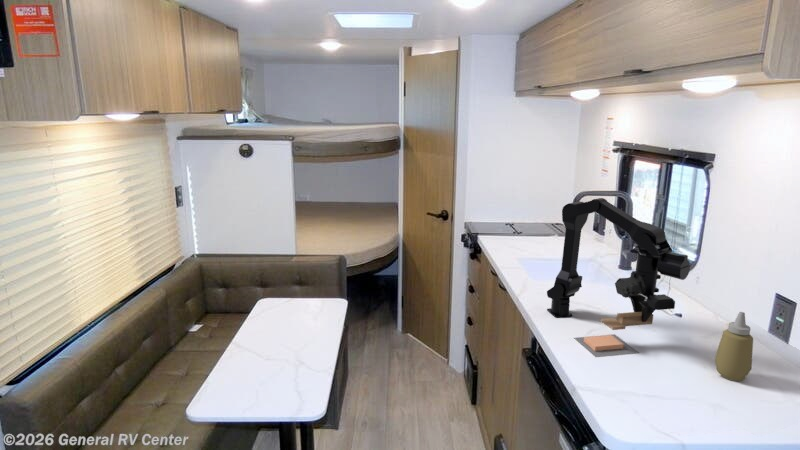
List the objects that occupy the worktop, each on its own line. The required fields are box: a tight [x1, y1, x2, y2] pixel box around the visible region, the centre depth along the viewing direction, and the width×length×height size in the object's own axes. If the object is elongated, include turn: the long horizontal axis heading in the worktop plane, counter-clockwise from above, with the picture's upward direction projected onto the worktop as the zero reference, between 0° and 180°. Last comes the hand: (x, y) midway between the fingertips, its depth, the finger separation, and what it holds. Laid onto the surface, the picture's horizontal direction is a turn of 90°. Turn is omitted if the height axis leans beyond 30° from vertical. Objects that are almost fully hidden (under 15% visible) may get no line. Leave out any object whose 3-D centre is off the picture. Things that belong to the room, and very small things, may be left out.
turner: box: [600, 311, 654, 331], centre depth 139 cm, size 6×14×3 cm, turn 100°
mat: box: [573, 333, 640, 358], centre depth 140 cm, size 12×14×1 cm
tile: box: [583, 334, 624, 351], centre depth 139 cm, size 6×2×9 cm
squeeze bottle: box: [714, 311, 754, 382], centre depth 122 cm, size 8×8×18 cm
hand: (640, 319), depth 140 cm, fingers closed on turner, 3 cm apart
